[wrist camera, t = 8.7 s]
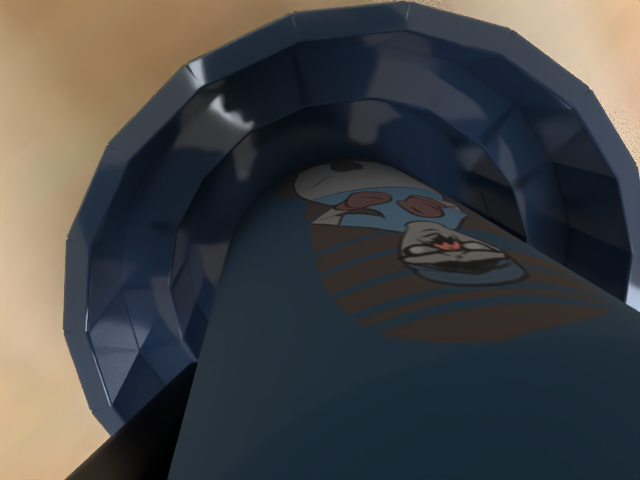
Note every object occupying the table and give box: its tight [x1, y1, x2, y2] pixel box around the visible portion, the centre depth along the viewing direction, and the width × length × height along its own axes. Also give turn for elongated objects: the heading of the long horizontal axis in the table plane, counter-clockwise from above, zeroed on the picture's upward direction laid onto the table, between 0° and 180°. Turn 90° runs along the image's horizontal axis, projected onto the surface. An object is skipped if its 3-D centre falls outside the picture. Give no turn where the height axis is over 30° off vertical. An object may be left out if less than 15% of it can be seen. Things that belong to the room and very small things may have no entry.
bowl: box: [63, 1, 640, 436], centre depth 12 cm, size 13×13×5 cm
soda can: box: [167, 158, 640, 480], centre depth 8 cm, size 7×7×12 cm
